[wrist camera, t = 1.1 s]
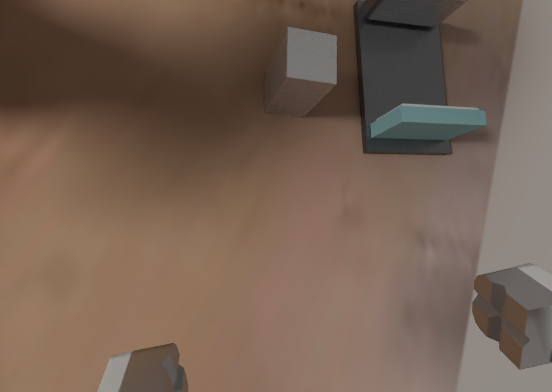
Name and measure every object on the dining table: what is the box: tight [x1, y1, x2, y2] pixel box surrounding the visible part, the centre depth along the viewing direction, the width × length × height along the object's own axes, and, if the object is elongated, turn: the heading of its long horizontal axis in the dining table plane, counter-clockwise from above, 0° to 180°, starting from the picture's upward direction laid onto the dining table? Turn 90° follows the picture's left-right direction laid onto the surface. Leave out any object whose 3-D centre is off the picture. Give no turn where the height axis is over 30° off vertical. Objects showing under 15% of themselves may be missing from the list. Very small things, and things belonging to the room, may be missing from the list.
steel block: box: [264, 27, 337, 118], centre depth 35 cm, size 4×4×9 cm
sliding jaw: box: [370, 103, 487, 140], centre depth 39 cm, size 2×10×6 cm, turn 93°
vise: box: [354, 0, 467, 155], centre depth 40 cm, size 18×11×7 cm, turn 3°
